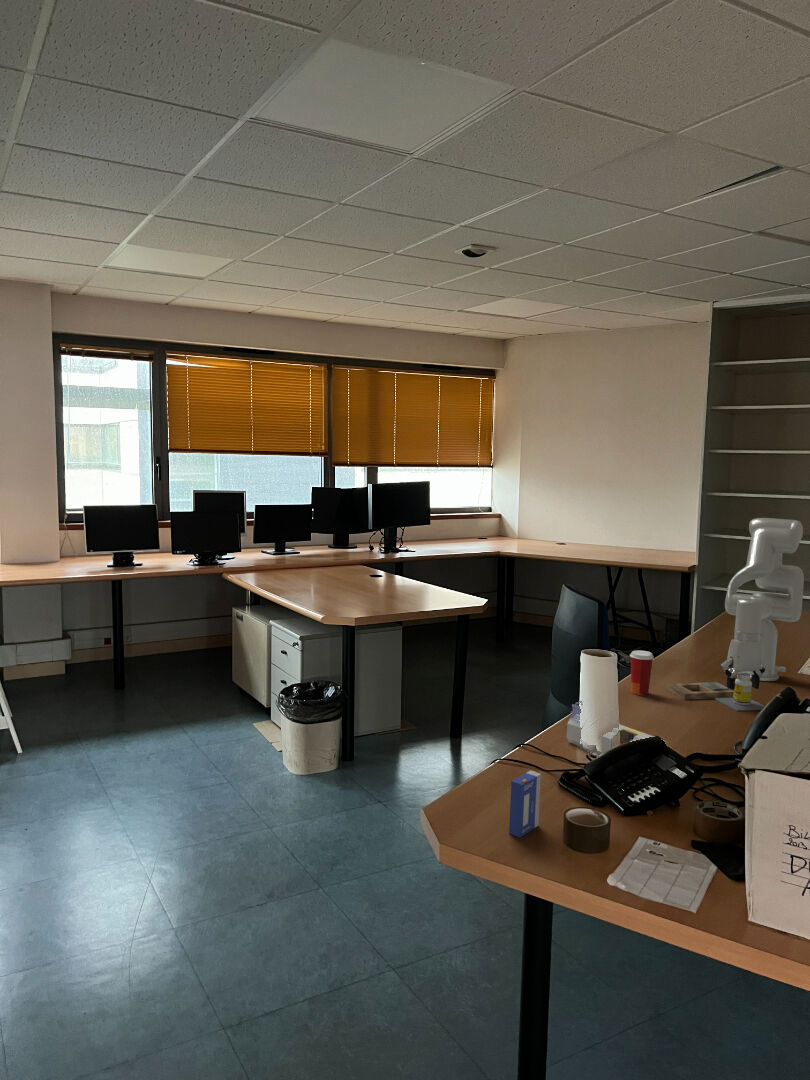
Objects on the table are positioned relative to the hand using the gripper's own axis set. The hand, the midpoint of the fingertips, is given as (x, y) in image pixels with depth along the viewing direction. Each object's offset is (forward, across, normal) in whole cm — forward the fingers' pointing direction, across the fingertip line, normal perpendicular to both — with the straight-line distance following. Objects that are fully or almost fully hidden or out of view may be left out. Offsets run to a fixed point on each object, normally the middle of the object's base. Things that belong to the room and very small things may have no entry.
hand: (742, 688), depth 256 cm
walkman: (+6, +103, +69) cm, 124 cm away
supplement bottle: (+5, 0, 0) cm, 5 cm away
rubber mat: (+5, 0, 0) cm, 5 cm away
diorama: (+6, +63, +32) cm, 71 cm away
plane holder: (+5, +7, -13) cm, 15 cm away
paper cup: (+6, +28, -16) cm, 33 cm away
